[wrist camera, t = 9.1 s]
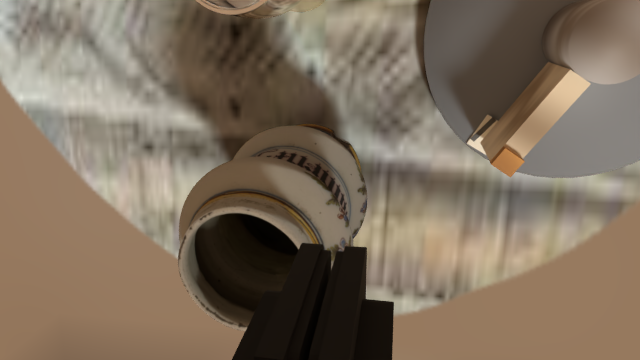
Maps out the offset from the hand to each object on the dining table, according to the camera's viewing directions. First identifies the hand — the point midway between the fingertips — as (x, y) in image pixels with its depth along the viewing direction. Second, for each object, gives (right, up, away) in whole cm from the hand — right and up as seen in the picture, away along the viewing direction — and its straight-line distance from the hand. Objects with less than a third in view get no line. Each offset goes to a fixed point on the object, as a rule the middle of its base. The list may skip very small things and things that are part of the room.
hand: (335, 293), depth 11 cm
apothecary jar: (-1, +4, +30) cm, 31 cm away
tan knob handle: (+16, +10, +22) cm, 29 cm away
